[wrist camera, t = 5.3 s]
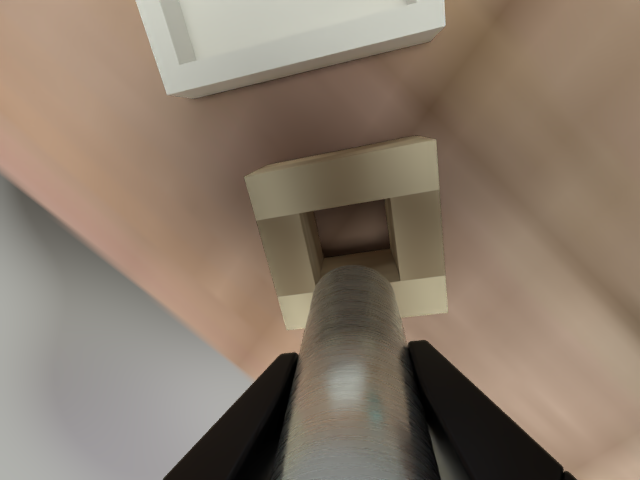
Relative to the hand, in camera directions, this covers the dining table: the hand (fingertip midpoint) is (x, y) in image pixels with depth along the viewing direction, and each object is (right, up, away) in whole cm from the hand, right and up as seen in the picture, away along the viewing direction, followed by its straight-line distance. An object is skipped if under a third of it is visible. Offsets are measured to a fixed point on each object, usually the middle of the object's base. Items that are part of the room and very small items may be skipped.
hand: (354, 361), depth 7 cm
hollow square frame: (+1, +4, +10) cm, 11 cm away
